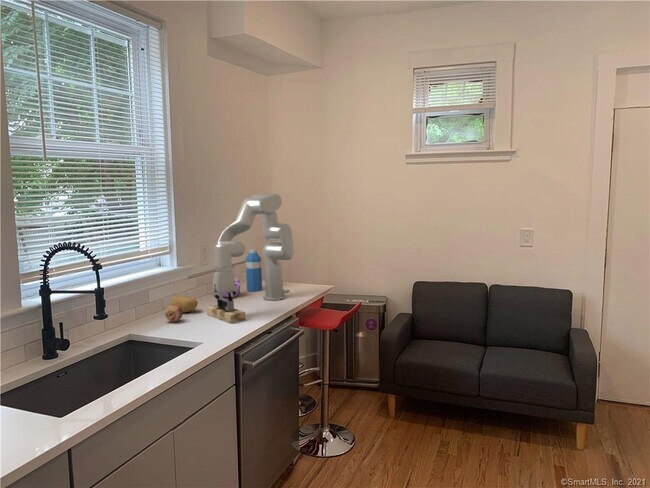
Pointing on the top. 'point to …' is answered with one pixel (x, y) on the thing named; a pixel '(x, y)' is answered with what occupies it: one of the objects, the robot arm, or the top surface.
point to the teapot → (237, 284)
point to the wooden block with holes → (226, 314)
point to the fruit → (173, 313)
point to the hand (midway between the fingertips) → (225, 306)
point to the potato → (185, 303)
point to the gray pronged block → (227, 305)
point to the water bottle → (253, 271)
